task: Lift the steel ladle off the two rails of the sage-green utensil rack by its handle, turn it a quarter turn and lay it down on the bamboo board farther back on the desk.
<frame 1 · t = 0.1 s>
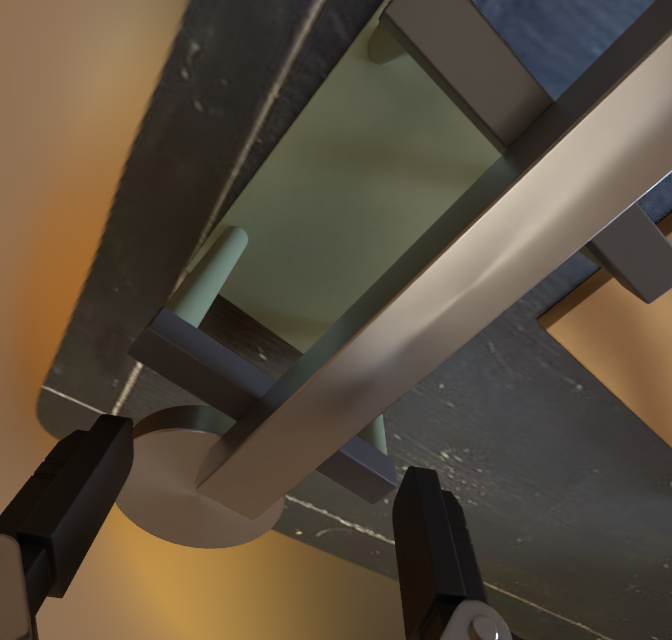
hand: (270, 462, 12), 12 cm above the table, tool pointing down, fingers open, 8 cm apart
rack: (369, 207, 21), on the table
ladle: (451, 260, 10), point 11 cm above the table, touching rack
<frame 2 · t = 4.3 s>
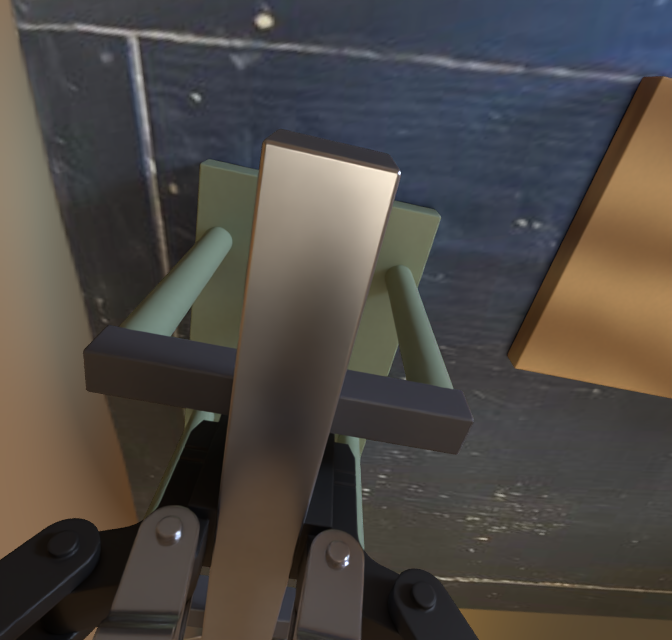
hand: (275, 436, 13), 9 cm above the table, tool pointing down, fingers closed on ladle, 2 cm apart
rack: (294, 339, 22), on the table
ladle: (265, 491, 12), point 11 cm above the table, touching gripper, rack
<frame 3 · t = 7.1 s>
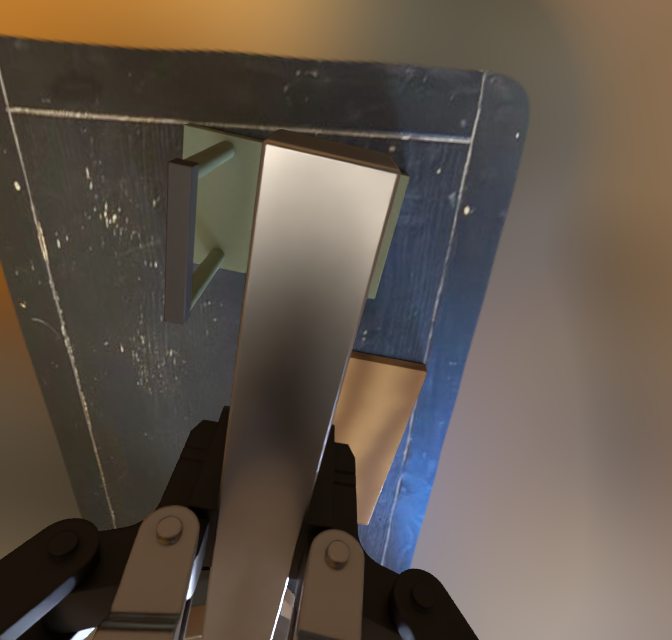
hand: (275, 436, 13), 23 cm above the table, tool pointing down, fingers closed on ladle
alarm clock: (226, 604, 60), on the table
rack: (289, 216, 33), on the table
ladle: (265, 490, 12), point 25 cm above the table, touching gripper
board: (332, 438, 44), on the table
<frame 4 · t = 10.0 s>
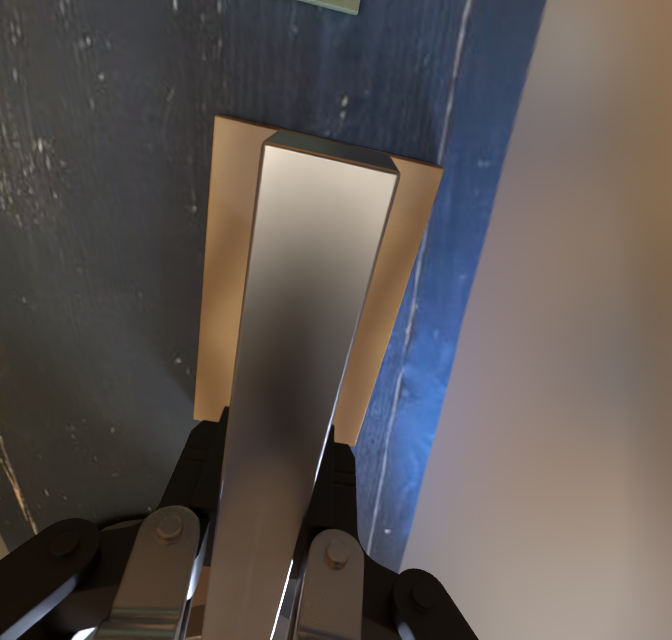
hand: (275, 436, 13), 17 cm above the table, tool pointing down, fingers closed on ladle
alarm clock: (171, 569, 46), on the table
ladle: (265, 491, 12), point 19 cm above the table, touching gripper
board: (300, 306, 30), on the table
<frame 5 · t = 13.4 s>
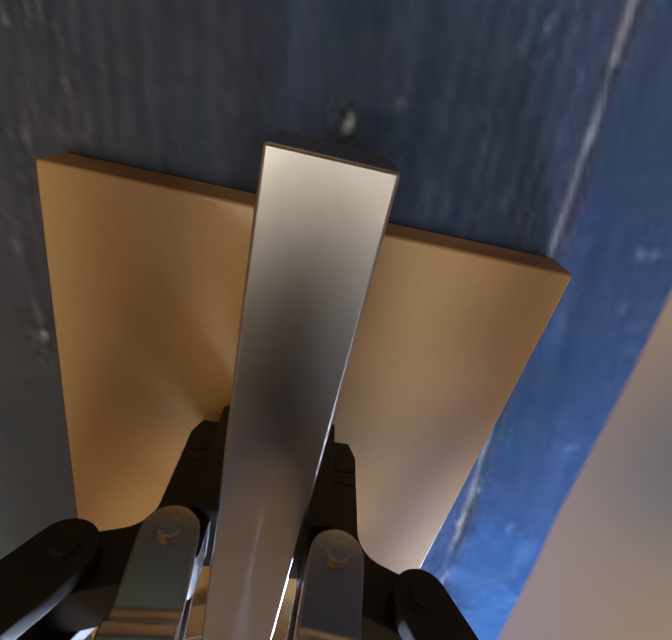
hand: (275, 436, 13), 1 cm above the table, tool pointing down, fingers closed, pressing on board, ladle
ladle: (265, 491, 12), point 3 cm above the table, touching gripper
board: (265, 488, 16), on the table
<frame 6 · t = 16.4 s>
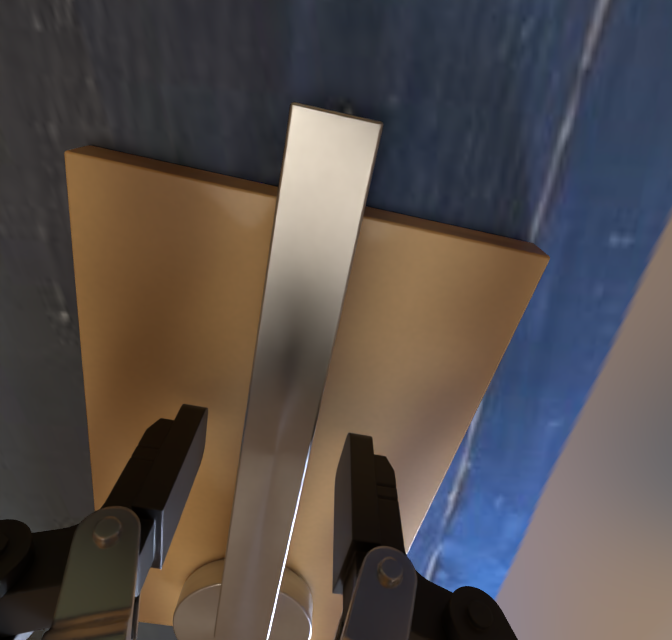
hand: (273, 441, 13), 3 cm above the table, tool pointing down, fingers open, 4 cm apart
ladle: (281, 417, 14), point 2 cm above the table, tilted 6°, touching board
board: (269, 464, 17), on the table
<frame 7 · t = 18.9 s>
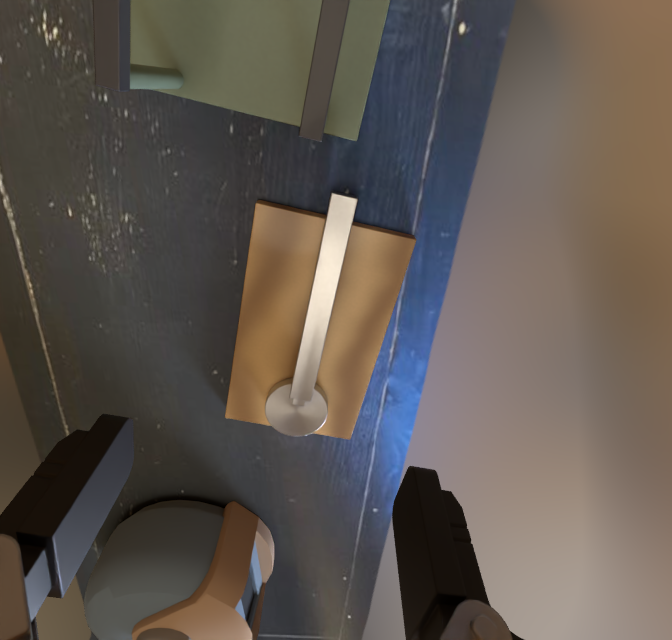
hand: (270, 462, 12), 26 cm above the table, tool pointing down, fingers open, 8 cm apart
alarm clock: (196, 544, 55), on the table
rack: (259, 32, 29), on the table
ladle: (320, 300, 36), point 2 cm above the table, tilted 6°, touching board
board: (310, 332, 40), on the table
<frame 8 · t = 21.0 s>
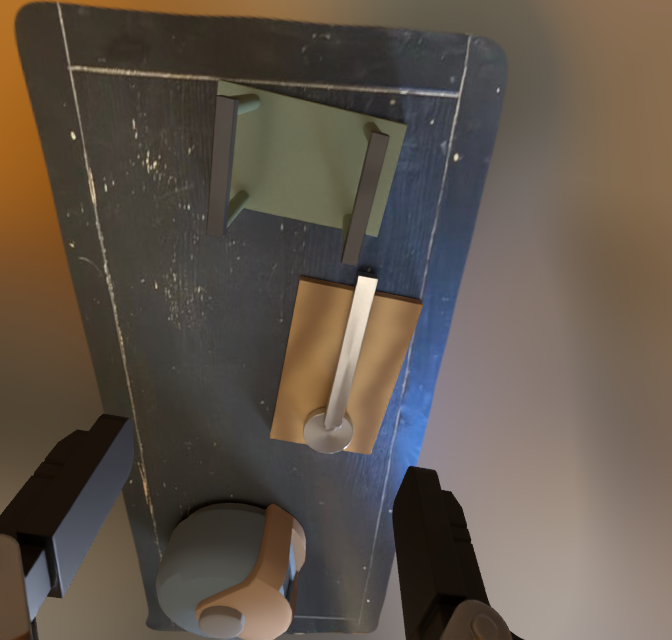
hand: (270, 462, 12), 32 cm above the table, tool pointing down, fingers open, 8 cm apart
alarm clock: (240, 539, 66), on the table
rack: (305, 162, 39), on the table
ladle: (348, 350, 47), point 2 cm above the table, tilted 6°, touching board
board: (339, 371, 50), on the table
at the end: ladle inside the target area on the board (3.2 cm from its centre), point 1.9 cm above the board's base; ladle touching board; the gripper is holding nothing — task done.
